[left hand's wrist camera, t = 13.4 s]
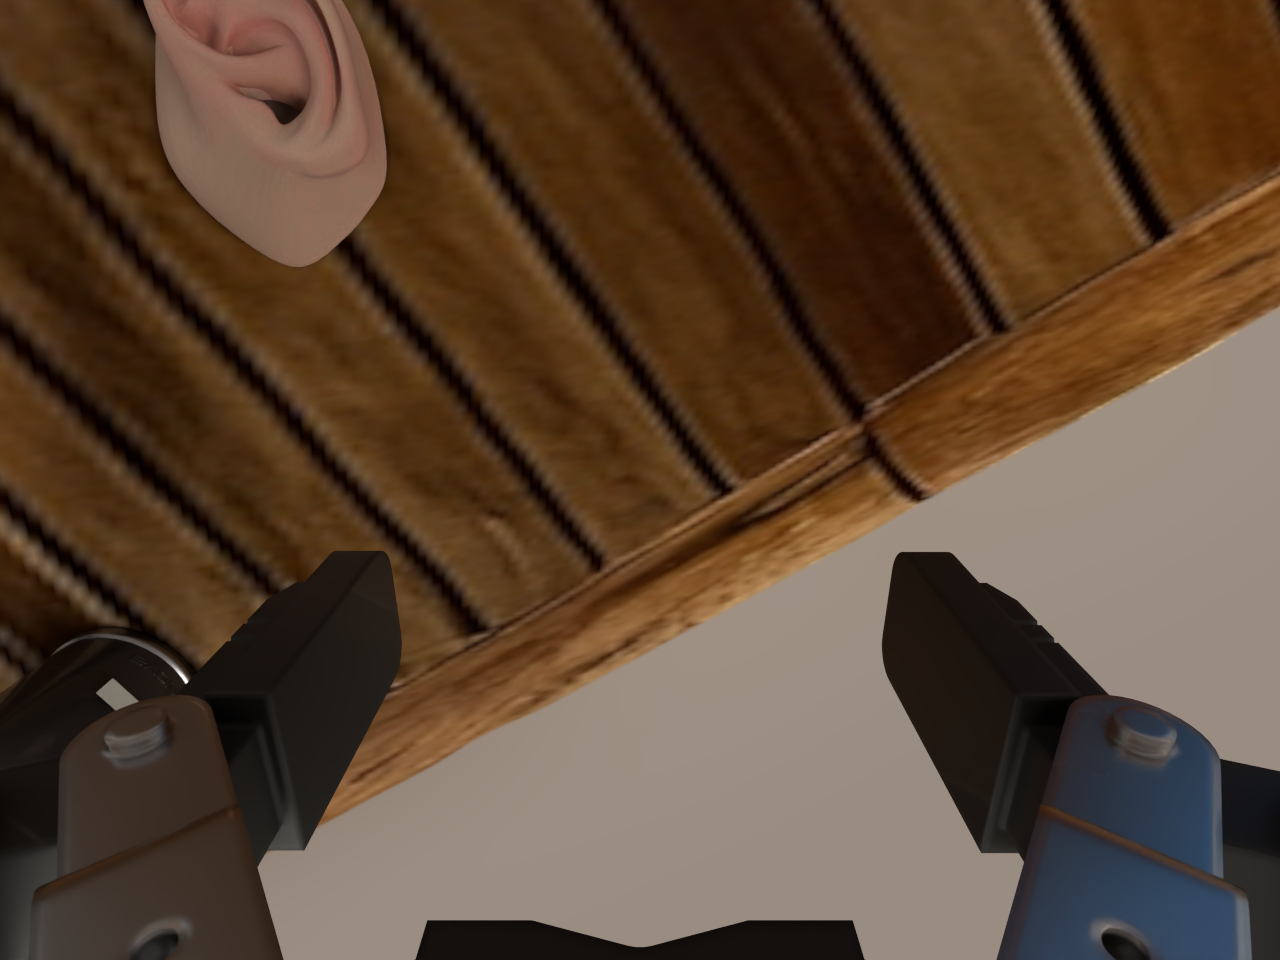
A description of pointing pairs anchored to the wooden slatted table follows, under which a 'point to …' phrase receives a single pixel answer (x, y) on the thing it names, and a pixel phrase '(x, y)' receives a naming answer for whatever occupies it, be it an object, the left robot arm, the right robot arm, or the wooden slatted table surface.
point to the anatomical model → (270, 118)
